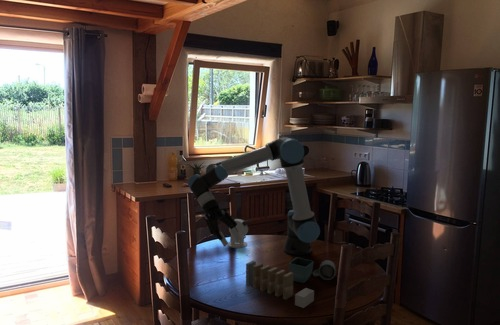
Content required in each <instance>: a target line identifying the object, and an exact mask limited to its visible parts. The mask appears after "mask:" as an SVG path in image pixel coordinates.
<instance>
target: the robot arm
mask: <svg viewBox="0 0 500 325" xmlns="http://www.w3.org/2000/svg"><path fill="white" fill-rule="evenodd" d="M304 147H305V146H304V145H303V144H302V142H300V140H298V139H296V138H292V137H288V136H283V137H280V138H277V139H275V140H272V141H270V142H267V143H266V144H265V145H264V146H261V147H259V148H256V149H252V150H250V151H247V152H243V153H242V154H238V155H236V156H234V157H230V158H228V159H225V160H221V161H219V162H215V163H209V164H208V165H207V166H206V168H205V173H204V174H203V175H200V174H197V173H196V174H194V175H191V176H190V177H189V178H188V179H187V185H188V187H189V189H190V191H191V192H192V194H193V196H194V197H195V199H196V200H197V202H198V204H199V205H200V207H202V208H201V209H202V210H203V211H204V213H205V215H204V216H203V220H205V223H206V224H207V227H208V230H209V232H210V235H212V236H214V237H215V236H216V238H217V239H218V240H219V241H220V243H221V244H222V246H223V247H224V248H225V247H227V246H228V243H229V242H228V240H227V239H226V237H225V235H224V233H223V232H222V231H220V228H219V222H218V221H220V222H223V224H224V225H225V226H226V227H228V229H229V228H230V229H231V232H232V234H233V235H234V237H235V238H236V240H237V242H239V241H240V240H241V239H242V238H241V236H240V235H239V232H238V231H237V229H236V225H237V223H236V222H235V221H234V220H233V218H234V217H232V216H231V215H230V214H229V213H228V211H227V209H226V208H224V209H221V208H220V205H219V203H218V201H217V200H216V198H215V196H214V195H213V194H212V192H211V190H210V189H212V188H213V187H215V186H216V185H218V184H219V183H221V182H223V181H225V180H226V179H227V178H228V177H229V175H230V174H233V173H235V172H239V171H241V170H244V169H246V168H247V169H248V168H251V167H252V166H256V165H259V164H262V163H263V162H266V161H267V162H268V161H271V162H272V161H275V160H279V162H280V166H281V168H282V169H283V170H284V171H285V175H286V180H287V186H288V190H289V195H290V200H291V204H292V209H290V210H289V211H287V236H286V239H285V242H284V245H283V251H284V252H285V253H286V254H289V255H294V256H306V255H309V254H311V252H312V245H311V243H314V242H315V241H316V240H317V239H318V238H319V236H320V233H321V228H320V226H319V224H318V223H317V220H316V215H315V212H314V211H312V210H311V206H310V201H309V196H308V190H307V185H306V181H305V176H304V170H303V165H304V164H305V160H304V159H305V158H304V156H305V149H304Z"/></svg>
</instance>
